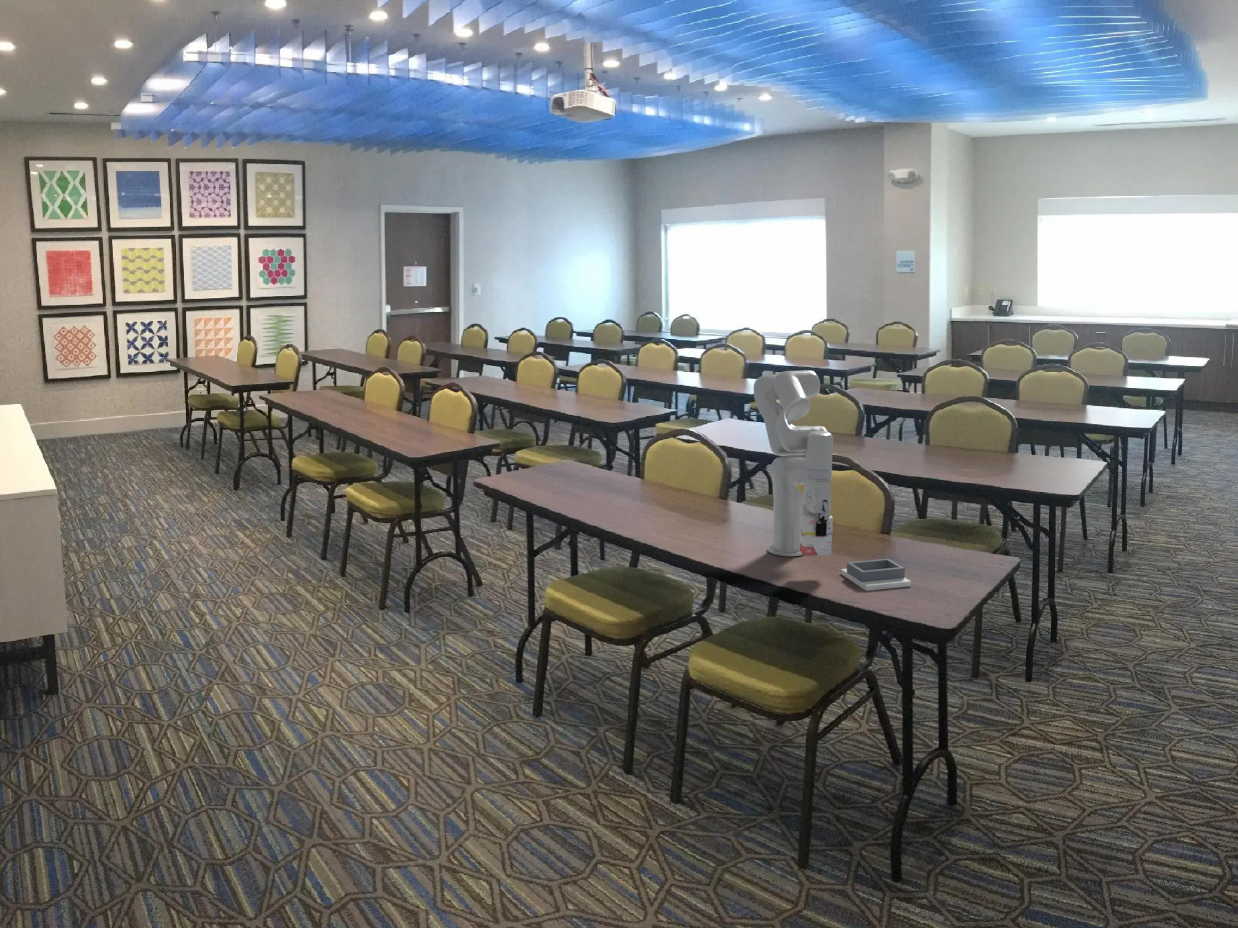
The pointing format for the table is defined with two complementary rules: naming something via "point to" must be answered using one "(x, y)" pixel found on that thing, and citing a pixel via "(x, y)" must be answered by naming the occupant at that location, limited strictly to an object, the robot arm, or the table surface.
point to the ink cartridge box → (814, 535)
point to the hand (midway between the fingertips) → (816, 532)
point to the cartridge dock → (876, 574)
